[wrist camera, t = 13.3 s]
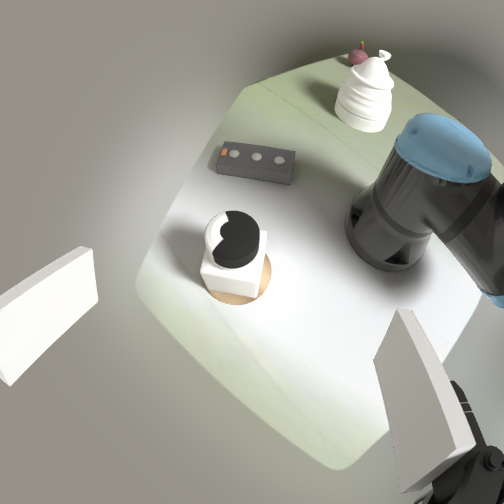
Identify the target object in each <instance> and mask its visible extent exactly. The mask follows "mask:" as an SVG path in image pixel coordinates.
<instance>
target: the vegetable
mask: <svg viewBox="0 0 504 504" xmlns="http://www.w3.org/2000/svg"><path fill="white" fill-rule="evenodd" d="M363 50H364V43H363V42H361V47H360V49H356V50H352V51H351V52H350V53H349V55H348V58H349V61H350V62H351V63H352V64H353V65H360V64H361V63H363V62H364V61H365V60H367V59H368V56H367V54H366V53H365V52H364V51H363Z"/></svg>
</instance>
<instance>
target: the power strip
mask: <svg viewBox="0 0 504 504" xmlns="http://www.w3.org/2000/svg"><path fill="white" fill-rule="evenodd" d="M294 158H295V151H289V150H283V149H277V148H271V147H265V146H258V145H251V144H243V143H235V142H226V141H225V142H224V145H223V148H222V150H221V153H220V155H219V158H218V161H217V163H216V168H217V174H223V175H230V176H237V177H244V178H251V179H257V180H263V181H269V182H275V183H281V184H287V185H290V182H291V177H292V171H293V164H294Z"/></svg>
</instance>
